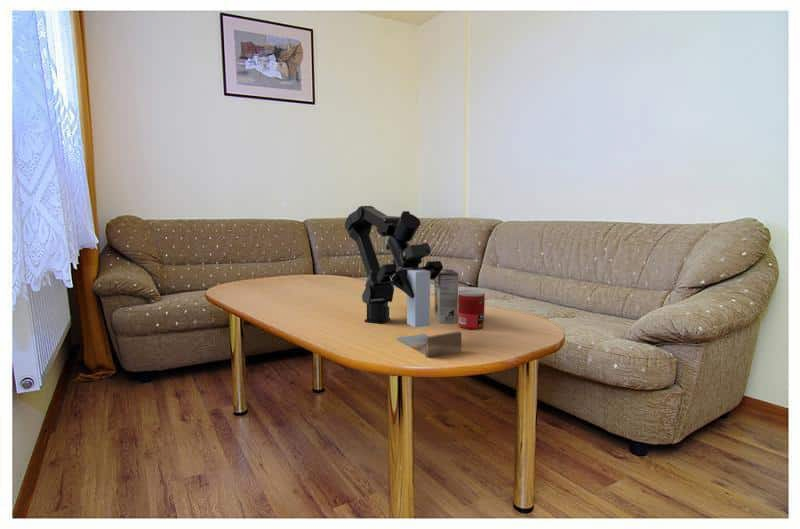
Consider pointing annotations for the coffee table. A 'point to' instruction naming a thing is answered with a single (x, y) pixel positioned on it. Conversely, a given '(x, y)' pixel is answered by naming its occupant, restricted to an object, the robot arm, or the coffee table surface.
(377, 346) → the coffee table surface
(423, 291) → the block
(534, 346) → the coffee table surface
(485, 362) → the coffee table surface
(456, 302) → the coffee box
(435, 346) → the brown slab
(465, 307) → the canned food
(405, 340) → the pad
